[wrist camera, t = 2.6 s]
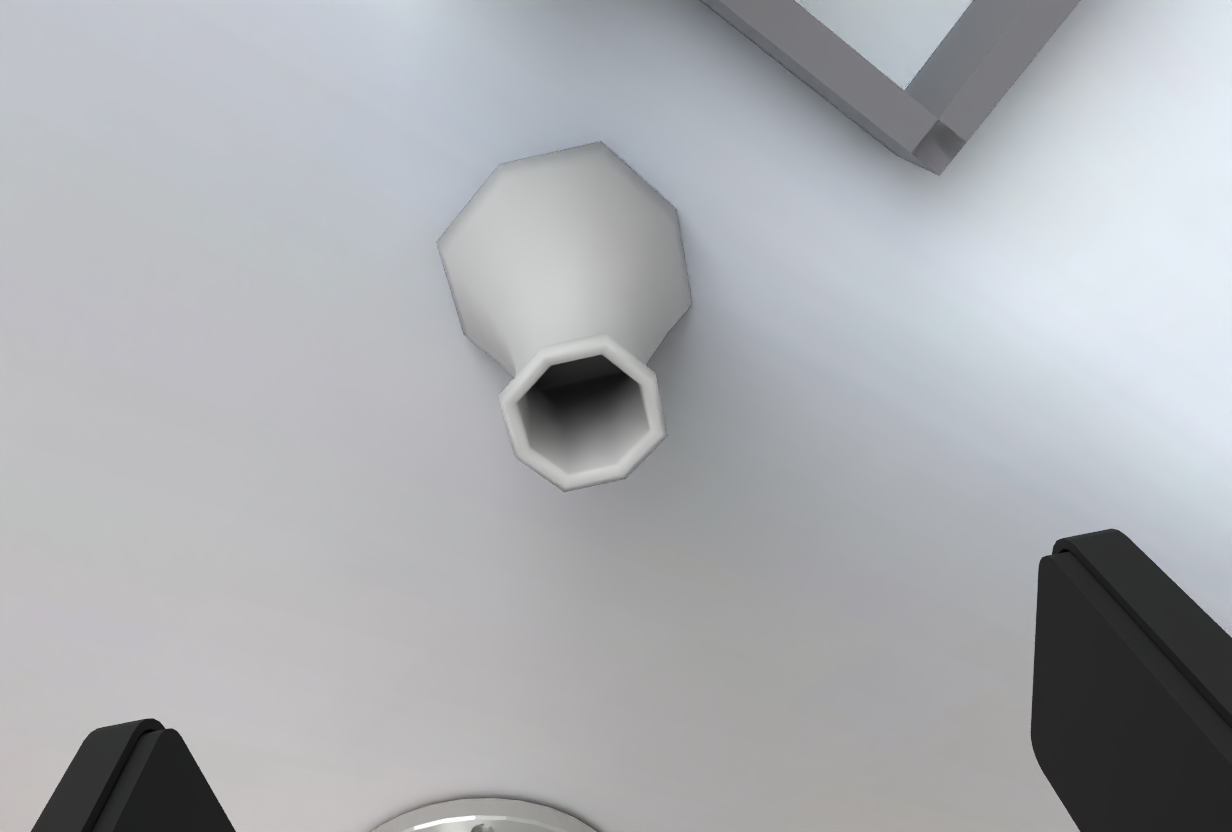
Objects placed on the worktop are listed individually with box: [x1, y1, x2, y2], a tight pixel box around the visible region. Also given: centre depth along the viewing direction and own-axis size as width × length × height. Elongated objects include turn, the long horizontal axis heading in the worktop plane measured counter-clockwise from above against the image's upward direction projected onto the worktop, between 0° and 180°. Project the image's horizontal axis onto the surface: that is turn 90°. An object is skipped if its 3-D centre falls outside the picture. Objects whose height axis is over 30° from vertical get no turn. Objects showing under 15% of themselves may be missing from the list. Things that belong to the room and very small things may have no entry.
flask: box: [436, 141, 692, 492], centre depth 22 cm, size 7×7×10 cm
